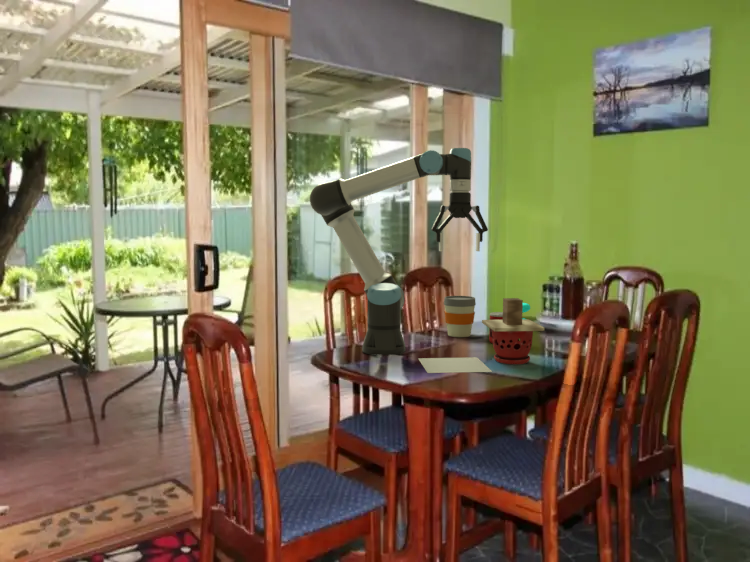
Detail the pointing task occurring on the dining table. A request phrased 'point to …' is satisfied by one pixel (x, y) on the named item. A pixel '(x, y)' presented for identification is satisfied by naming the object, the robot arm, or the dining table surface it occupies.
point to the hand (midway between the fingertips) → (459, 251)
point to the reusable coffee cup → (459, 315)
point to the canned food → (494, 317)
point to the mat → (453, 365)
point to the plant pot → (512, 346)
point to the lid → (512, 318)
